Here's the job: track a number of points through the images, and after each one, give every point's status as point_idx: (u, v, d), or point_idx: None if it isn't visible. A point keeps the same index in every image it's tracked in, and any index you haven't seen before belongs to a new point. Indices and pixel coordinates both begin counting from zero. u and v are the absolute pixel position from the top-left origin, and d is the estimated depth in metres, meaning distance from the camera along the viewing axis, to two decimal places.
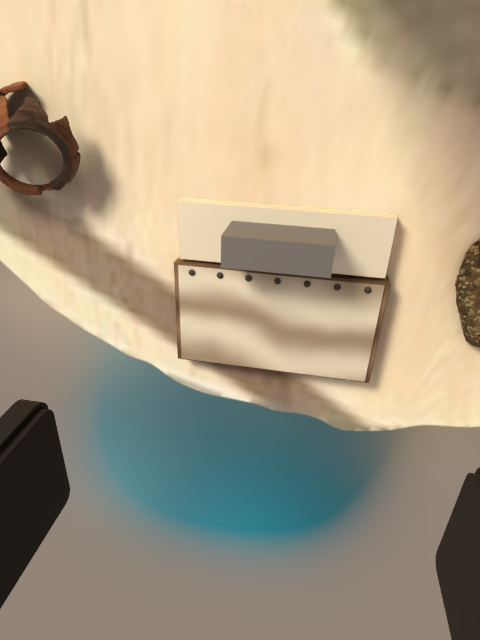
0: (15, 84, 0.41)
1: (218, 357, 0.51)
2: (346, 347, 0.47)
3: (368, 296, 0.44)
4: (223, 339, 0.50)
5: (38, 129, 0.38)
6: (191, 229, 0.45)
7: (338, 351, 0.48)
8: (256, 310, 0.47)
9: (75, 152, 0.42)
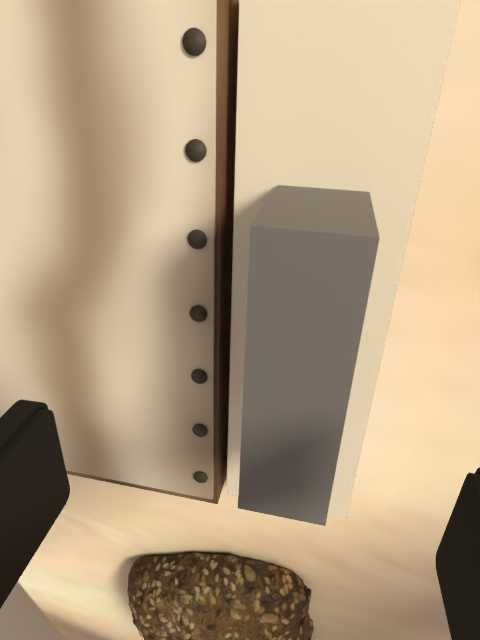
0: None
1: None
2: (68, 436, 0.22)
3: (187, 476, 0.22)
4: None
5: None
6: (349, 42, 0.13)
7: None
8: (106, 256, 0.17)
9: None
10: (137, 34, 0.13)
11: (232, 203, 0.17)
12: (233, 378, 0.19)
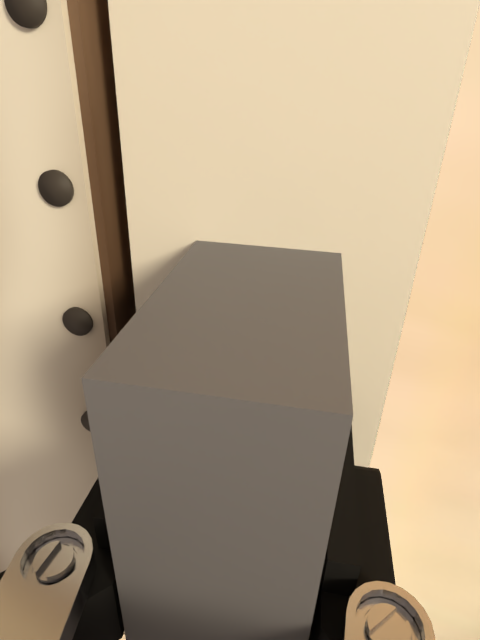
0: None
1: None
2: None
3: None
4: None
5: None
6: (298, 2, 0.07)
7: None
8: None
9: None
10: None
11: None
12: None
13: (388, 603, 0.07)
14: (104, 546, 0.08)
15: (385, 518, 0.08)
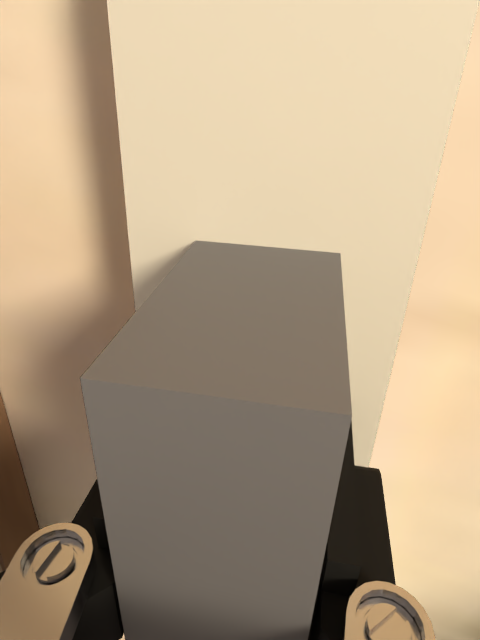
0: None
1: None
2: None
3: None
4: None
5: None
6: (297, 2, 0.07)
7: None
8: None
9: None
10: None
11: None
12: None
13: (388, 603, 0.07)
14: (104, 546, 0.08)
15: (385, 518, 0.08)
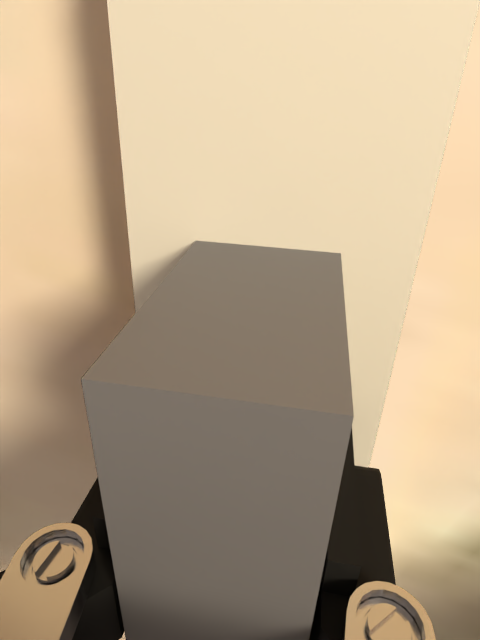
0: None
1: None
2: None
3: None
4: None
5: None
6: (297, 2, 0.07)
7: None
8: None
9: None
10: None
11: None
12: None
13: (388, 603, 0.07)
14: (104, 546, 0.08)
15: (385, 518, 0.08)
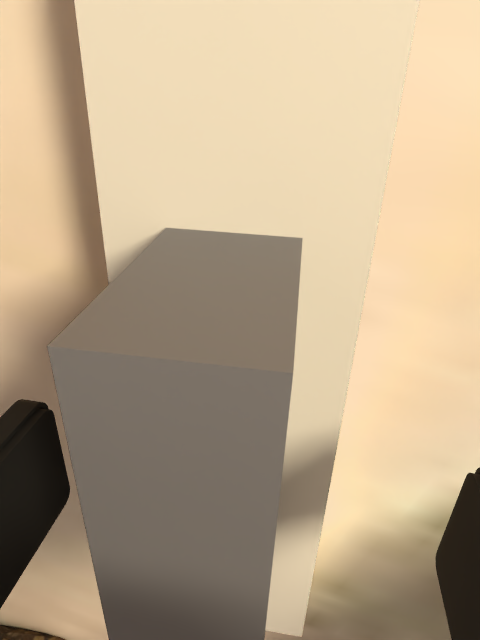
0: None
1: None
2: None
3: None
4: None
5: None
6: (253, 0, 0.08)
7: None
8: None
9: None
10: None
11: None
12: None
13: None
14: None
15: None
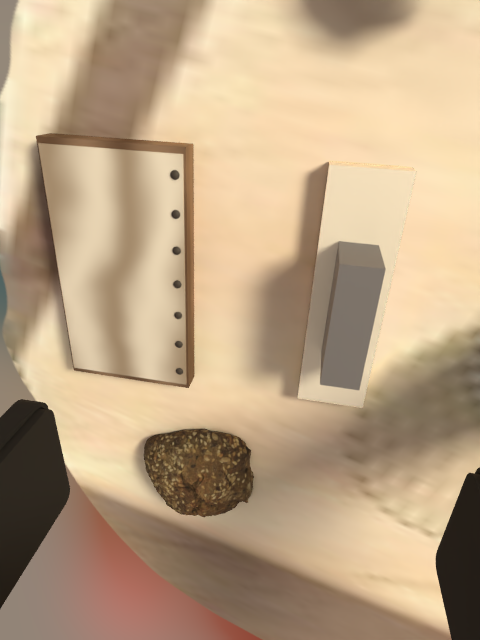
0: None
1: (55, 201, 0.36)
2: (110, 351, 0.42)
3: (172, 371, 0.42)
4: (85, 211, 0.36)
5: None
6: (372, 188, 0.32)
7: (103, 343, 0.42)
8: (135, 257, 0.37)
9: None
10: (152, 170, 0.34)
11: (193, 233, 0.37)
12: (308, 331, 0.38)
13: None
14: None
15: None
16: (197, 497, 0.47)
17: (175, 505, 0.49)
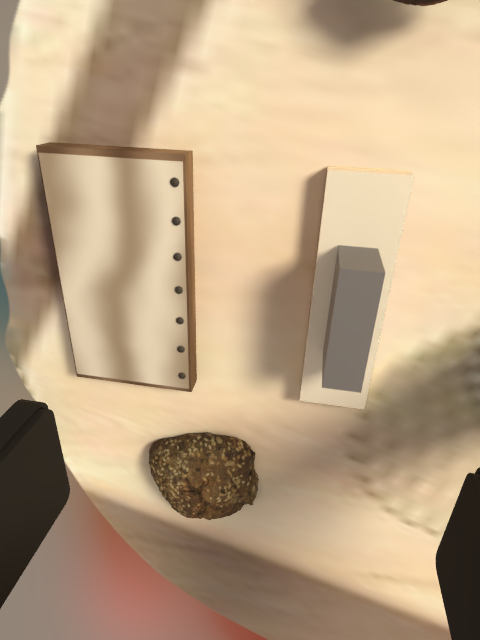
0: None
1: (56, 210, 0.36)
2: (112, 357, 0.43)
3: (175, 376, 0.42)
4: (86, 219, 0.36)
5: None
6: (370, 192, 0.32)
7: (106, 349, 0.42)
8: (136, 264, 0.37)
9: None
10: (152, 178, 0.34)
11: (193, 239, 0.38)
12: (309, 334, 0.38)
13: None
14: None
15: None
16: (202, 500, 0.48)
17: (181, 508, 0.49)
